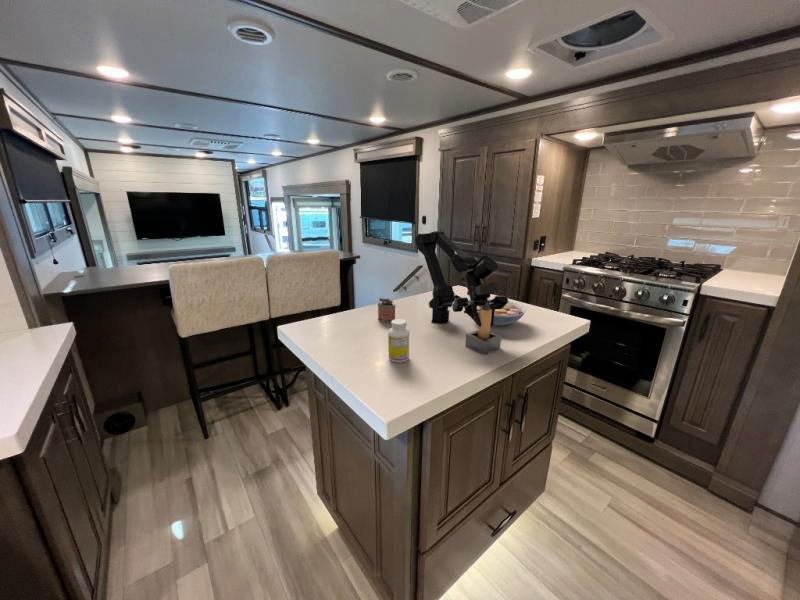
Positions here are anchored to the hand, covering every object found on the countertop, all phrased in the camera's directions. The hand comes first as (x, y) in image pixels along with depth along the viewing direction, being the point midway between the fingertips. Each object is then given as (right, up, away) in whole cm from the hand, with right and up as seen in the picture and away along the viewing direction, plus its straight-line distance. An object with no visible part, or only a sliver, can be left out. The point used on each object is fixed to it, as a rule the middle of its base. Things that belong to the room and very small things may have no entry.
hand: (486, 325), depth 106 cm
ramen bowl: (+11, -1, +27) cm, 29 cm away
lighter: (-35, 0, +28) cm, 45 cm away
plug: (0, -6, +3) cm, 7 cm away
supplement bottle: (-29, -10, -5) cm, 32 cm away
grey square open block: (0, -8, +4) cm, 9 cm away
